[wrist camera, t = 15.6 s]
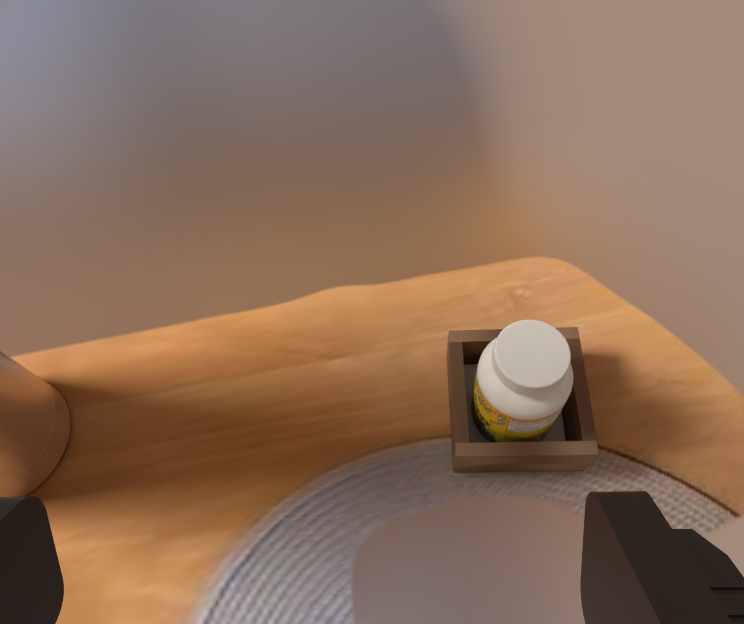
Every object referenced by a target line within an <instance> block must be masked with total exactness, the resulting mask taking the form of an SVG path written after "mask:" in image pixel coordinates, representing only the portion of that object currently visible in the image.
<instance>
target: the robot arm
mask: <svg viewBox="0 0 744 624" xmlns="http://www.w3.org/2000/svg"><path fill="white" fill-rule="evenodd" d="M69 433H70V414H69V410H68V407H67V404H66V401H65V400H64V398H63V397H62V396H61V394H60V393H59V392H58V391H57V390H56V389H55V388H54V387H52V386H51V385H50V384H48V383H47V382H45V381H44V380H42V379H41V378H39V377H38V376H36V375H35V374H33V373H32V372H30V371H29V370H27V369H26V368H24V367H23V366H22V365H20V364H19V363H17V362H16V361H14V360H13V359H11V358H10V357H8V356H7V355H5V354H3V353H2V352H1V351H0V624H55V623H56V621H57V618H58V616H59V613H60V610H61V607H62V602H63V595H64V583H63V578H62V574H61V569H60V565H59V561H58V557H57V553H56V549H55V545H54V541H53V536H52V532H51V528H50V524H49V520H48V516H47V512H46V509H45V506H44V504H43V503H42V501H41V500H40V499H38V498H37V497H24V496H25V495H27V494H29V493H30V492H32V491H33V490H35V489H36V488H37V487H38V486H39V485H40V484H41V483H42V482H43V481H45V480H46V479H47V477H48V476H49V475H50V474H51V472H52V471H53V470H54V469H55V467H56V466H57V464H58V462H59V461H60V459H61V457H62V455H63V453H64V451H65V448H66V445H67V442H68V439H69ZM581 601H582V608H583V614H584V619H585V623H586V624H744V577H743V576H742V574H741V573H740V572H739V570H738V569H737V568H736V566H735V565H734V564H733V562H732V561H731V559H730V558H729V557H728V555H726V554H725V553H724V552H722V551H721V550H720V549H718V548H717V547H716V546H714V545H713V544H711V543H710V542H709V541H708V540H706V539H705V538H704V537H702V536H701V535H699V534H698V533H697V532H695V531H694V530H693V529H672V528H671V527H670V525H669V524H668V522H667V521H666V519H665V518H664V516H663V515H662V513H661V511H660V510H659V508H658V507H657V505H656V504H655V502H654V501H653V499H652V498H651V496H650V495H649V494H648V493H647V492H645V491H627V492H590V493H589V494H588V496H587V499H586V505H585V519H584V535H583V551H582V567H581Z"/></svg>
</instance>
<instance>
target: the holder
mask: <svg viewBox="0 0 744 624" xmlns="http://www.w3.org/2000/svg"><path fill="white" fill-rule="evenodd" d="M556 329H557V330H558V331H559V332H560V333H561V334H562V335H563V336H564V338H565V339H566V341H567V343H568V345H569V348H570V352H571V361H570V363H571V366H572V370H573V386H572V390H571V393H570V395H569V397H568V399H567V401H566V403H565V405H564V407H563V408H562V411H561V412H560V413H559V415H558V417H557V419H556V421H555V422H554V424H553V426H552V427H551V429H550V431H549V432H548V434H547V435H546V436H545V437H544V438H543V439H542V440H541V441H540V442H490V441H488V440H487V439H486V438H485V437H484V436H483V435H482V434H481V433H480V432H479V430H478V429H477V427H476V426H475V424H474V421H473V418H472V414H471V401H472V395H473V390H474V384H475V378H476V373H477V367H478V363H479V359H480V357H481V354H482V352H483V351H484V349H485V348H486V347H487V345H488V344H489V343H490V342H491V341H493V340H494V339H495V338H497V337H498V335H499V334H500V332H501V331H502V330H503V329H498V330H463V331H449V335H448V347H447V368H448V385H449V403H450V420H451V438H452V455H453V472H506V471H582V470H584V469H585V468H586V467H587V466H588V465H589V464H590V463H591V462H592V461H593V460H594V459H595V458H596V457H597V456H598V455H599V452H598V446H597V440H596V434H595V428H594V422H593V416H592V410H591V404H590V398H589V392H588V386H587V380H586V375H585V369H584V363H583V357H582V351H581V345H580V339H579V333H578V327H568V328H556ZM562 417H563V418H562ZM563 424H564V425H563Z"/></svg>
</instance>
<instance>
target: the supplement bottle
mask: <svg viewBox="0 0 744 624" xmlns="http://www.w3.org/2000/svg"><path fill="white" fill-rule="evenodd" d="M570 361H571V352H570V348H569V345H568V343H567V341H566V339H565V338H564V336H563V335H562V334H561V333H560V332H559V331H558V330H557V329H556V328H554V327H553V326H551V325H549V324H547V323H545V322H542V321H538V320H521V321H517V322H514V323H512V324H510V325H508V326H507V327H506V328H504V329H503V330H502V331H501V332H500V334H499V335H498V337H497V338H495V339H494V340H493V341H491V342H490V343H489V344H488V345H487V347H486V348H485V349H484V351H483V352H482V354H481V357H480V359H479V363H478V367H477V373H476V378H475V384H474V390H473V395H472V401H471V414H472V418H473V421H474V424H475V426H476V427H477V429H478V430H479V432H480V433H481V434H482V435H483V436H484V437H485V438H486V439H487V440H488V441H490V442H540V441H541V440H542V439H543V438H544V437H545V436H546V435H547V434H548V432H549V431H550V429H551V427H552V426H553V424H554V422H555V421H556V419H557V417H558V415H559V413H560V412H561V410H562V408H563V407H564V405H565V403H566V401H567V399H568V397H569V395H570V393H571V390H572V386H573V370H572V366H571V363H570Z"/></svg>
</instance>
